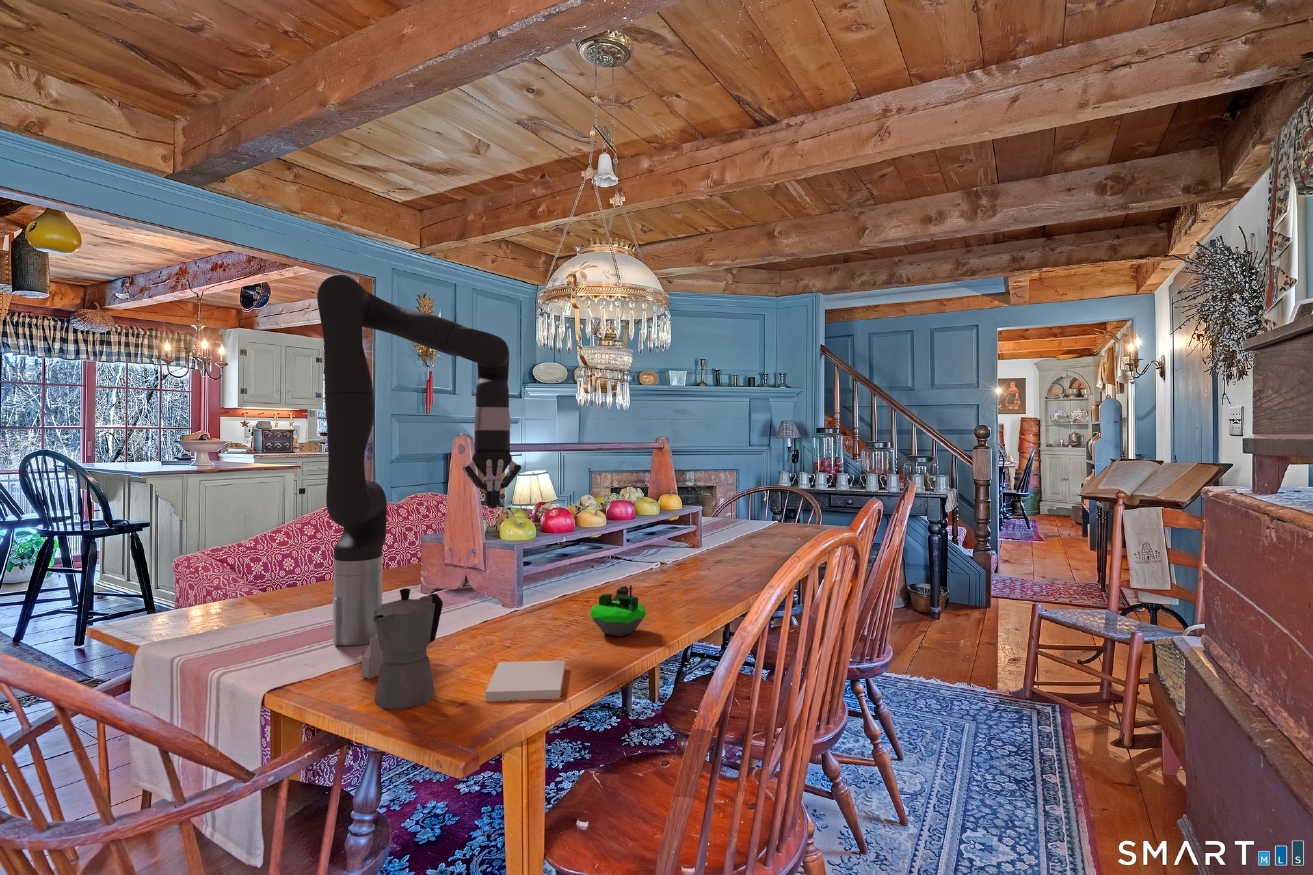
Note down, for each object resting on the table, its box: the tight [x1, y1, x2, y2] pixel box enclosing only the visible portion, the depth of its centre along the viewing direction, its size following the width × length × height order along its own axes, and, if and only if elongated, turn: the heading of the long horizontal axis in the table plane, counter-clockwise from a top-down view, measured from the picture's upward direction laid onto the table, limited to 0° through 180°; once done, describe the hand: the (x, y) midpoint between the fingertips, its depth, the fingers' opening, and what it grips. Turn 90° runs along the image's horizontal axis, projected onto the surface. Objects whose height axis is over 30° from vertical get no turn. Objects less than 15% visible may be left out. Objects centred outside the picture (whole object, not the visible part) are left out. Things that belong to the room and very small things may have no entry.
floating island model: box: [589, 584, 647, 637], centre depth 145 cm, size 12×12×11 cm
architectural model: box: [356, 633, 383, 679], centre depth 122 cm, size 3×7×7 cm, turn 156°
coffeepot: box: [373, 587, 444, 711], centre depth 110 cm, size 15×9×18 cm, turn 159°
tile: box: [484, 660, 566, 702], centre depth 116 cm, size 12×2×14 cm
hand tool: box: [612, 585, 629, 601], centre depth 163 cm, size 19×4×5 cm, turn 168°
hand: (492, 507), depth 146 cm, fingers closed
